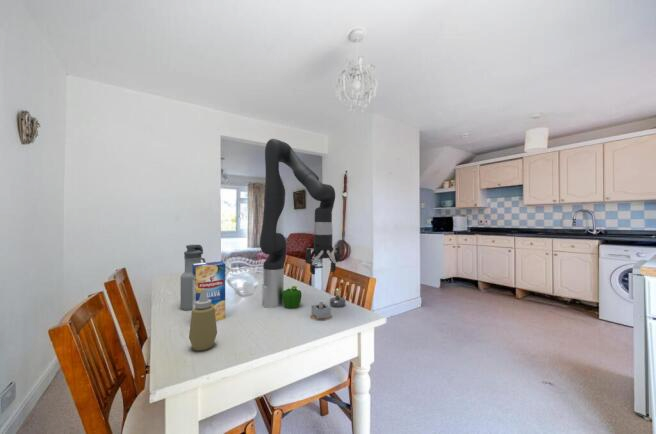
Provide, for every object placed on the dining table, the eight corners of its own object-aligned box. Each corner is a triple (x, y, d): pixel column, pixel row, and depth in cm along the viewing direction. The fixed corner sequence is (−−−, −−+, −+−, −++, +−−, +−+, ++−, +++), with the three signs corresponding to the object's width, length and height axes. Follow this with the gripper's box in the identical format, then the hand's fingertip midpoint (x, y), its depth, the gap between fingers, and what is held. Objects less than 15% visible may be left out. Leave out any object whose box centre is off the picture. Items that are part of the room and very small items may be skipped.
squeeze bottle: (195, 341, 87) (195, 286, 87) (220, 340, 88) (220, 286, 88) (184, 353, 79) (184, 293, 79) (212, 352, 80) (212, 293, 80)
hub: (331, 311, 115) (332, 292, 115) (323, 304, 124) (323, 287, 124) (352, 308, 119) (352, 290, 119) (342, 301, 128) (342, 284, 128)
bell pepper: (279, 306, 120) (279, 284, 120) (295, 303, 125) (295, 282, 125) (287, 312, 113) (288, 289, 113) (304, 308, 118) (304, 286, 118)
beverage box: (192, 319, 106) (192, 264, 106) (220, 313, 112) (221, 261, 112) (195, 324, 100) (195, 266, 100) (225, 318, 107) (225, 263, 107)
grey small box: (316, 320, 104) (316, 310, 104) (311, 314, 109) (311, 305, 109) (330, 318, 106) (330, 308, 106) (325, 312, 112) (325, 303, 112)
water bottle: (189, 302, 126) (189, 243, 125) (209, 303, 125) (209, 243, 124) (175, 310, 115) (175, 246, 115) (196, 311, 115) (196, 246, 114)
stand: (314, 323, 102) (314, 308, 102) (307, 315, 110) (307, 301, 110) (335, 320, 105) (335, 305, 105) (327, 312, 114) (327, 298, 113)
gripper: (335, 232, 114) (334, 270, 114) (303, 233, 108) (303, 272, 108) (343, 233, 107) (342, 273, 107) (309, 234, 101) (309, 276, 101)
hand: (322, 273), depth 107 cm, fingers open, 8 cm apart
